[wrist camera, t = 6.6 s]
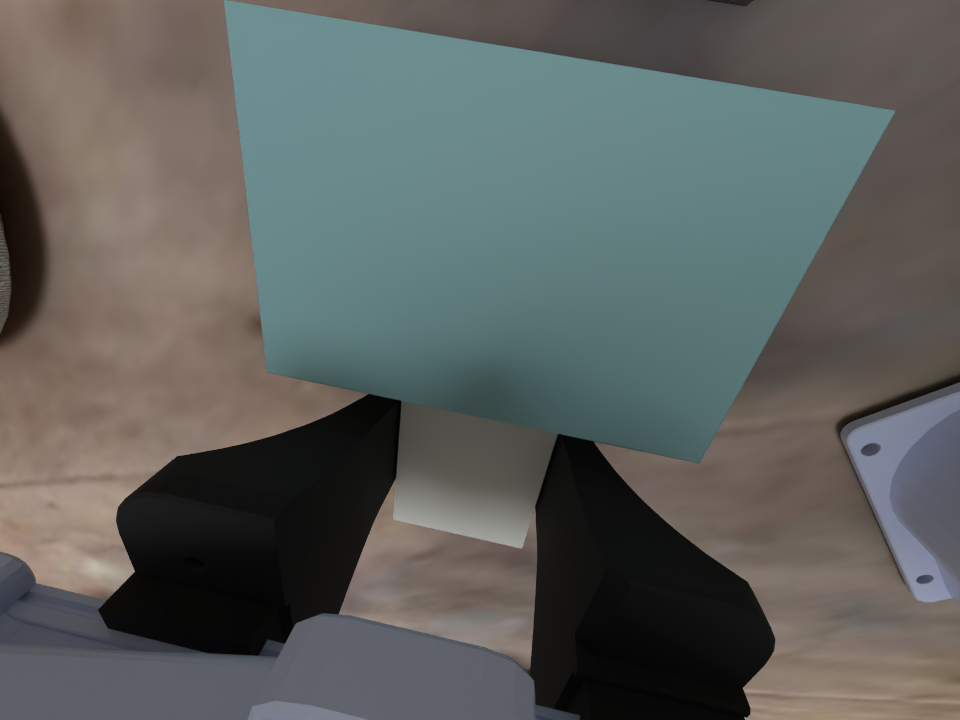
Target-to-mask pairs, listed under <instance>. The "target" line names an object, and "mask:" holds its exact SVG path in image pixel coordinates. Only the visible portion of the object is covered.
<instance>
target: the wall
mask: <svg viewBox="0 0 960 720" xmlns="http://www.w3.org/2000/svg"><path fill="white" fill-rule="evenodd" d="M713 1H719V2H725V3H732V4H738V5H745V6H746V5H748V4H749V3H750V2H752V1H753V0H713Z"/></svg>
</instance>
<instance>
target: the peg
mask: <svg viewBox="0 0 960 720" xmlns="http://www.w3.org/2000/svg"><path fill="white" fill-rule="evenodd" d="M557 435H558V434H557V433H552V432H548V431H543V430H538V429H533V428H529V427H524V426H519V425H514V424H510V423H505V422H500V421H495V420H491V419H486V418H481V417H476V416H472V415H467V414H462V413H458V412H453V411H448V410H443V409H439V408H434V407H429V406H424V405H420V404H415V403H410V402H405V401H402V403H401V416H400V430H399V444H398V458H397V472H396V486H395V500H394V514H393V520H397V521H401V522H406V523H410V524H415V525H419V526H424V527H428V528H433V529H437V530H442V531H446V532H451V533H455V534H459V535H464V536H468V537H473V538H477V539H482V540H486V541H491V542H495V543H500V544H504V545H509V546H513V547H517V548H522V547H523V544H524V540H525V537H526V534H527V531H528V528H529V524H530V521H531V518H532V515H533V512H534V508H535V505H536V502H537V499H538V496H539V493H540V489H541V486H542V483H543V480H544V477H545V473H546V470H547V467H548V464H549V461H550V457H551V454H552V451H553V448H554V445H555V441H556V438H557Z"/></svg>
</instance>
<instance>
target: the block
mask: <svg viewBox="0 0 960 720" xmlns="http://www.w3.org/2000/svg"><path fill="white" fill-rule="evenodd" d="M224 5H225V13H226V22H227V31H228V39H229V48H230V57H231V65H232V74H233V83H234V91H235V100H236V109H237V117H238V126H239V135H240V143H241V152H242V161H243V169H244V178H245V186H246V195H247V204H248V212H249V221H250V230H251V238H252V247H253V256H254V264H255V273H256V282H257V290H258V299H259V308H260V316H261V325H262V334H263V342H264V351H265V360H266V368H267V372H268V373H273V374H277V375H282V376H287V377H292V378H296V379H301V380H306V381H311V382H315V383H320V384H325V385H329V386H334V387H339V388H344V389H348V390H353V391H358V392H363V393H367V394H372V395H377V396H382V397H386V398H391V399H396V400H401V401H405V402H410V403H415V404H420V405H424V406H429V407H434V408H439V409H443V410H448V411H453V412H458V413H462V414H467V415H472V416H476V417H481V418H486V419H491V420H495V421H500V422H505V423H510V424H514V425H519V426H524V427H529V428H533V429H538V430H543V431H548V432H552V433H557V434H562V435H567V436H571V437H576V438H581V439H586V440H590V441H595V442H600V443H605V444H609V445H614V446H619V447H623V448H628V449H633V450H638V451H642V452H647V453H652V454H657V455H661V456H666V457H671V458H676V459H680V460H685V461H690V462H695V463H700V461H701V459H702V458H703V456H704V454H705V452H706V450H707V449H708V447H709V445H710V443H711V441H712V440H713V438H714V436H715V434H716V432H717V431H718V429H719V427H720V425H721V423H722V422H723V420H724V418H725V416H726V414H727V413H728V411H729V409H730V407H731V405H732V404H733V402H734V400H735V398H736V397H737V395H738V393H739V391H740V389H741V388H742V386H743V384H744V382H745V380H746V379H747V377H748V375H749V373H750V371H751V370H752V368H753V366H754V364H755V362H756V361H757V359H758V357H759V355H760V353H761V352H762V350H763V348H764V346H765V344H766V343H767V341H768V339H769V337H770V335H771V334H772V332H773V330H774V328H775V326H776V325H777V323H778V321H779V319H780V317H781V316H782V314H783V312H784V310H785V308H786V307H787V305H788V303H789V301H790V300H791V298H792V296H793V294H794V292H795V291H796V289H797V287H798V285H799V283H800V282H801V280H802V278H803V276H804V274H805V273H806V271H807V269H808V267H809V265H810V264H811V262H812V260H813V258H814V256H815V255H816V253H817V251H818V249H819V247H820V246H821V244H822V242H823V240H824V238H825V237H826V235H827V233H828V231H829V229H830V228H831V226H832V224H833V222H834V220H835V219H836V217H837V215H838V213H839V211H840V210H841V208H842V206H843V204H844V203H845V201H846V199H847V197H848V195H849V194H850V192H851V190H852V188H853V186H854V185H855V183H856V181H857V179H858V177H859V176H860V174H861V172H862V170H863V168H864V167H865V165H866V163H867V161H868V159H869V158H870V156H871V154H872V152H873V150H874V149H875V147H876V145H877V143H878V141H879V140H880V138H881V136H882V134H883V132H884V131H885V129H886V127H887V125H888V123H889V122H890V120H891V118H892V116H893V114H894V113H895V111H894V110H888V109H882V108H876V107H870V106H864V105H858V104H852V103H846V102H840V101H834V100H828V99H822V98H816V97H810V96H804V95H797V94H791V93H785V92H779V91H773V90H767V89H761V88H755V87H749V86H743V85H737V84H731V83H725V82H719V81H713V80H706V79H700V78H694V77H688V76H682V75H676V74H670V73H664V72H658V71H652V70H646V69H640V68H634V67H628V66H622V65H616V64H609V63H603V62H597V61H591V60H585V59H579V58H573V57H567V56H561V55H555V54H549V53H543V52H537V51H531V50H525V49H519V48H512V47H506V46H500V45H494V44H488V43H482V42H476V41H470V40H464V39H458V38H452V37H446V36H440V35H434V34H428V33H421V32H415V31H409V30H403V29H397V28H391V27H385V26H379V25H373V24H367V23H361V22H355V21H349V20H343V19H337V18H331V17H324V16H318V15H312V14H306V13H300V12H294V11H288V10H282V9H276V8H270V7H264V6H258V5H252V4H246V3H240V2H234V1H227V0H224Z"/></svg>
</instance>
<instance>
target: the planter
mask: <svg viewBox="0 0 960 720" xmlns="http://www.w3.org/2000/svg"><path fill="white" fill-rule="evenodd" d="M11 287H12V286H11V274H10V261H9V252H8V248H7V244H6V240H5V234H4V225H3V220H2V216H1V212H0V334H1V331H2V329H3V326H4V324H5V321H6V319H7V316H8V312H9V304H10V296H11Z"/></svg>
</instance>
